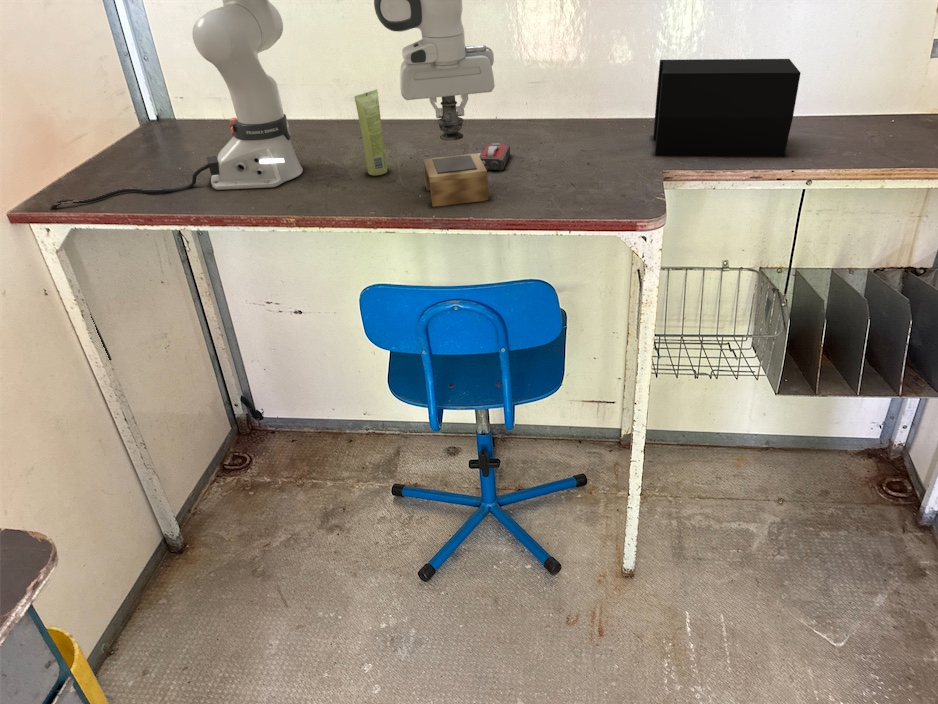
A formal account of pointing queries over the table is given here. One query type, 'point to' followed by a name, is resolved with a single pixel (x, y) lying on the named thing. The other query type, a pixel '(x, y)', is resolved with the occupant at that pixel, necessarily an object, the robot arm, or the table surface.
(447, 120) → the chess piece
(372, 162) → the tube
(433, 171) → the stand
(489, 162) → the walkie-talkie
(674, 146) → the uninterruptible power supply
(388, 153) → the table surface
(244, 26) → the robot arm
